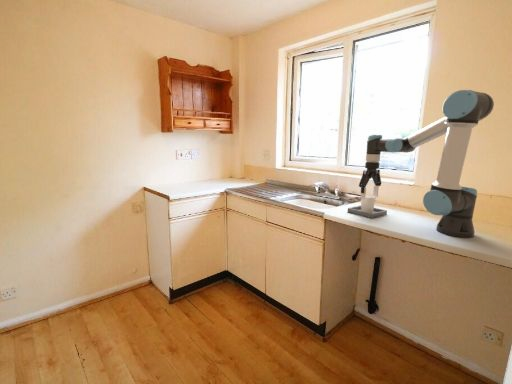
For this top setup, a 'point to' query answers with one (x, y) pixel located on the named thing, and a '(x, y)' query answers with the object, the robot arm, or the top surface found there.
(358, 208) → the tray
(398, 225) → the top surface
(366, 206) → the white cup
